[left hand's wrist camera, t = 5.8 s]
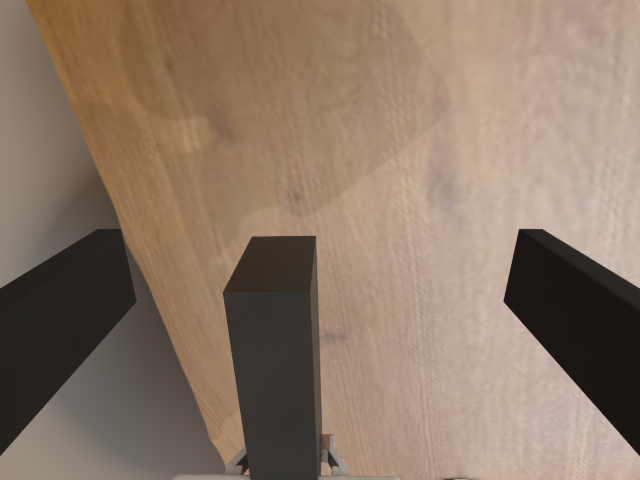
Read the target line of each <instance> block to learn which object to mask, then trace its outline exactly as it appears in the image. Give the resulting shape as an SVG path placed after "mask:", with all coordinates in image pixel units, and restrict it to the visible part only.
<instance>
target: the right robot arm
mask: <svg viewBox="0 0 640 480" xmlns="http://www.w3.org/2000/svg"><path fill="white" fill-rule="evenodd" d="M320 462H328V463H329V465H330V467H331V469H332V476H318V480H400V479H399V478H398V477H394V476H348V466H347V464H346V463H345V461H344V460H343V458H342V457H341V456H340V454H339V453H338V451H337V450H336V449H335V434H330V436H329V434H320ZM248 468H249V466H248V460H247V453H246V446H245V447H244V449H242V450H241V451H240V452H239V453H238V454H237V455H236V456H235V457H234V458H233V459H232V460H231V461H230V462H229V463H228V465H227V468H226V471H225V475H209V474H178V475H175V476H174V477H173V478H172V479H170V480H250V475H244V473H245V472H246V470H247V469H248ZM455 480H467V479H455Z"/></svg>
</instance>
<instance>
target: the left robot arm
mask: <svg viewBox="0 0 640 480" xmlns="http://www.w3.org/2000/svg"><path fill="white" fill-rule="evenodd" d="M503 302H504V303H505V304H506V305H507V306H508V307H509V308H510V310H511V311H512V312H513V313H514V314H515V315H516V316H517V317H518V319H519V320H520V321H521V322H522V323H523V324H524V325H525V327H526V328H527V329H528V330H529V331H530V332H531V333H532V334H533V336H534V337H535V338H536V339H537V340H538V341H539V342H540V344H541V345H542V346H543V347H544V348H545V349H546V350H547V351H548V353H549V354H550V355H551V356H552V357H553V358H554V359H555V361H556V362H557V363H558V364H559V365H560V366H561V367H562V368H563V370H564V371H565V372H566V373H567V374H568V375H569V376H570V378H571V379H572V380H573V381H574V382H575V383H576V384H577V385H578V387H579V388H580V389H581V390H582V391H583V392H584V393H585V395H586V396H587V397H588V398H589V399H590V400H591V401H592V402H593V404H594V405H595V406H596V407H597V408H598V409H599V410H600V412H601V413H602V414H603V415H604V416H605V417H606V418H607V419H608V421H609V422H610V423H611V424H612V425H613V426H614V427H615V428H616V430H617V431H618V432H619V433H620V434H621V435H622V436H623V438H624V439H625V440H626V441H627V442H628V443H629V444H630V445H631V447H632V448H633V449H634V450H635V451H636V452H637V453H638V455H639V456H640V288H638V287H636V286H635V285H633V284H632V283H630V282H628V281H627V280H625V279H623V278H622V277H620V276H618V275H617V274H615V273H613V272H612V271H610V270H609V269H607V268H605V267H604V266H602V265H600V264H599V263H597V262H595V261H594V260H592V259H590V258H589V257H587V256H586V255H584V254H582V253H581V252H579V251H577V250H576V249H574V248H572V247H571V246H569V245H568V244H566V243H564V242H563V241H561V240H559V239H558V238H556V237H554V236H553V235H551V234H549V233H548V232H546V231H545V230H543V229H519V232H518V236H517V241H516V246H515V250H514V255H513V259H512V264H511V269H510V273H509V278H508V283H507V287H506V292H505V297H504V301H503ZM135 303H136V297H135V292H134V287H133V283H132V278H131V274H130V269H129V264H128V260H127V255H126V250H125V246H124V241H123V236H122V232H121V229H97V230H95V231H94V232H92V233H91V234H89V235H87V236H86V237H84V238H82V239H81V240H79V241H77V242H76V243H74V244H72V245H71V246H69V247H68V248H66V249H64V250H63V251H61V252H59V253H58V254H56V255H54V256H53V257H51V258H50V259H48V260H46V261H45V262H43V263H41V264H40V265H38V266H36V267H35V268H33V269H32V270H30V271H28V272H27V273H25V274H23V275H22V276H20V277H18V278H17V279H15V280H13V281H12V282H10V283H8V284H7V285H5V286H4V287H2V288H0V456H1V455H2V453H3V452H4V451H5V450H6V449H7V448H8V447H9V445H10V444H11V443H12V442H13V441H14V440H15V439H16V438H17V436H18V435H19V434H20V433H21V432H22V431H23V430H24V428H25V427H26V426H27V425H28V424H29V423H30V422H31V421H32V419H33V418H34V417H35V416H36V415H37V414H38V413H39V411H40V410H41V409H42V408H43V407H44V406H45V405H46V404H47V402H48V401H49V400H50V399H51V398H52V397H53V396H54V395H55V393H56V392H57V391H58V390H59V389H60V388H61V386H62V385H63V384H64V383H65V382H66V381H67V380H68V379H69V378H70V376H71V375H72V374H73V373H74V372H75V371H76V369H77V368H78V367H79V366H80V365H81V364H82V363H83V362H84V360H85V359H86V358H87V357H88V356H89V355H90V354H91V353H92V351H93V350H94V349H95V348H96V347H97V346H98V345H99V343H100V342H101V341H102V340H103V339H104V338H105V337H106V336H107V334H108V333H109V332H110V331H111V330H112V329H113V328H114V327H115V325H116V324H117V323H118V322H119V321H120V320H121V319H122V317H123V316H124V315H125V314H126V313H127V312H128V311H129V310H130V308H131V307H132V306H133V305H134V304H135Z"/></svg>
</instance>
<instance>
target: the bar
mask: <svg viewBox="0 0 640 480" xmlns="http://www.w3.org/2000/svg"><path fill="white" fill-rule="evenodd" d="M223 297H224V303H225V310H226V317H227V324H228V331H229V337H230V344H231V351H232V358H233V365H234V371H235V378H236V385H237V392H238V398H239V405H240V412H241V419H242V426H243V432H244V439H245V446H246V453H247V460H248V466H249V473H250V480H318V476H321V462H320V434H322V412H321V379H320V347H319V314H318V282H317V250H316V236H267V237H252V238H251V240H250V242H249V244H248V246H247V247H246V249H245V251H244V253H243V255H242V257H241V259H240V261H239V263H238V265H237V267H236V268H235V270H234V272H233V274H232V276H231V278H230V280H229V282H228V284H227V286H226V288H225V289H224V291H223Z"/></svg>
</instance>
